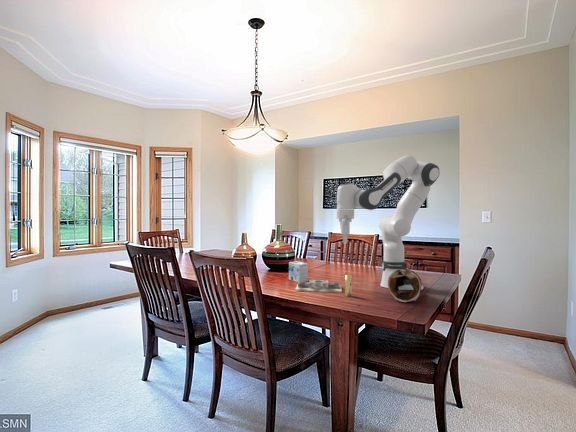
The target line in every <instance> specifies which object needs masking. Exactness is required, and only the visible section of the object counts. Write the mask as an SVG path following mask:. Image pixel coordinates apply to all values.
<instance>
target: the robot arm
mask: <svg viewBox="0 0 576 432" xmlns="http://www.w3.org/2000/svg"><path fill="white" fill-rule="evenodd" d="M440 172H441V171H440V168H439V166H438V165H437V164H435V163H432V162H428V161H424V160H417V159H416V158H415V156H413V155H411V154H405V155H403V156H401V157H399V158H397V159H396V160H394V161H392V162H391V163H389V164H388V165H387V167H386V168H385V169H384V170H383V172H382V177H383V180H382V181H381V182H380V183H379V184H378V185H376V186H375V187H373V188H369V189H368V188H367V189H362V188H360V187H358V186H357V185H355V184H354V183H352V182H347V183H341V184H340V185H338V187H337V192H336V203H337V205H336V214H335V215H336V219H338V222H339V225H340V233H341V235H342V244H343V245H344V244H345V245H346V244H348V236H349V235H350V229H351V228H350V227H351V225H350V224H351V223H352V220H353V219H355V209H358V210H369V211H373V210H376V209H377V208H378V207H379V206H380V205H381V203H382V202H383V199H384V198H385V197H386V196H388V195H389V194H390V192H392V191H394V189H395V188H396V187H398V185H400V184H401V183H402V182H404V181H405V180H406V179H407V180H411V185H410V186H409V187H408V189H407V190H406V191H405V193H403V196H402V197H401V198H400V199H399V201H398V202H397V205H396V206H397V207H396V209H395V211H394V213H393V214H392V215H388V216H385V217H383V218H381V220H380V222H379V224H378V227H379V229H380V233H381V239H382V245H383V247H382V248H383V260H382V264H381V265H382V267H381V269H382V276H381V281H380V285H379V286H380V287H382V288H385V289H389V288H388V279H389V276H390V275H391V274H392V273H393V272H394V271H396V270H399V269H409V267H411V264H410V262H407V261H406V260H405V246H404V243H403V240H402V237H406V236H407V235H408V234H409V233H410V232H411V229H412V226H411V225H412V223H413V220H414V217H415V216H416V214H417V213H418V211H419V209H420V208H421V207H422V205H423V204H424V202H425V201H426V199H427V197H428V196H429V194H430V191H431V187H432V185H433V184H434V183H436V181H437V179H439V177H440ZM398 289H399V291H413V290H414V289H413V287H412V285H411V284H410V285H403V286H400V287H398ZM423 289H424V285H422V286H421V290H423Z"/></svg>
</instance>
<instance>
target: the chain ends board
mask: <svg viewBox="0 0 576 432" xmlns="http://www.w3.org/2000/svg"><path fill="white" fill-rule="evenodd" d="M308 281H309V282H308ZM308 281H306V282H304V281H300V282H297V284H296V287H295V289H294V290H295V292H310V291H311V293H312V292H314V293H315V292H316V293H317V292H318V293H341V294H342V293H343V288H342V284H341V285H340V282H336V281H335V282H329V280H327V279H325V280H323V279H322V280H321V279H310V280H308Z"/></svg>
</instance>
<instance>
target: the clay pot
mask: <svg viewBox="0 0 576 432" xmlns="http://www.w3.org/2000/svg"><path fill="white" fill-rule="evenodd" d="M410 284H411V285H412V287H413V289H414V290H411V292H409V293H401V292H400V290H399V289H398V287H400V286H403V285H410ZM421 286H423V285H422V279H421V277H420V276H419V275H418V274H417V273H416V272H415V271H414V270H411V269H409V268H408V269H399V270H396V271H394V272H393V273H392V274H391V275H390V276H389V279H388V288H387V289H388V290H389V293H390V294H391V296H392V297H393V298H394V299H395V300H396V301H399V302H401V303H402V302H403V303H408V302H416V301H417V299H418V298H419V297H420V293H421Z"/></svg>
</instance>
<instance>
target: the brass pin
mask: <svg viewBox="0 0 576 432" xmlns="http://www.w3.org/2000/svg"><path fill="white" fill-rule="evenodd" d="M344 277H345V280H344V281H345V282H344V285H345V287H344V288H345V289H344V292H345V293H344V295H345V297H349V298H350V297H352V277H353V276H352V275H349V274H346V275H345V276H344Z"/></svg>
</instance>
